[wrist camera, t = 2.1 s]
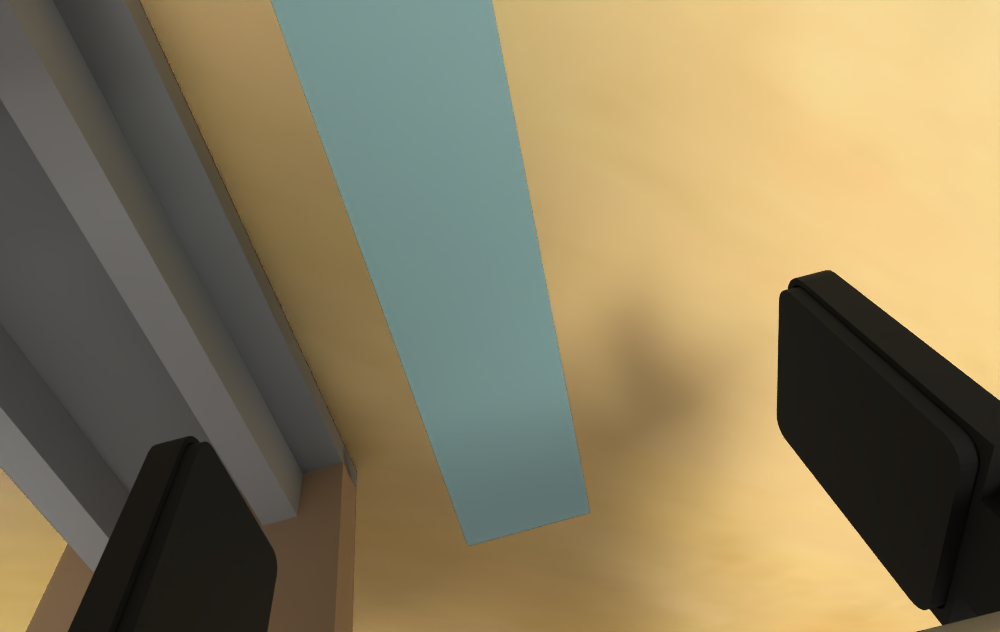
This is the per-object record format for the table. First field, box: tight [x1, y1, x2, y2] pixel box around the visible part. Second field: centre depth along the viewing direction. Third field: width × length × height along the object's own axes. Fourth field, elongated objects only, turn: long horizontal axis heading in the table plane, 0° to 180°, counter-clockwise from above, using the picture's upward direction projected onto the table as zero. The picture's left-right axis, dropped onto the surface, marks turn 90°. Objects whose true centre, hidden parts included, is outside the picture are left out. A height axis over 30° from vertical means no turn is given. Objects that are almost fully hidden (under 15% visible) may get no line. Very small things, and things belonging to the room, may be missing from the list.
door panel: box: [271, 0, 590, 546], centre depth 16 cm, size 12×3×9 cm, turn 11°
